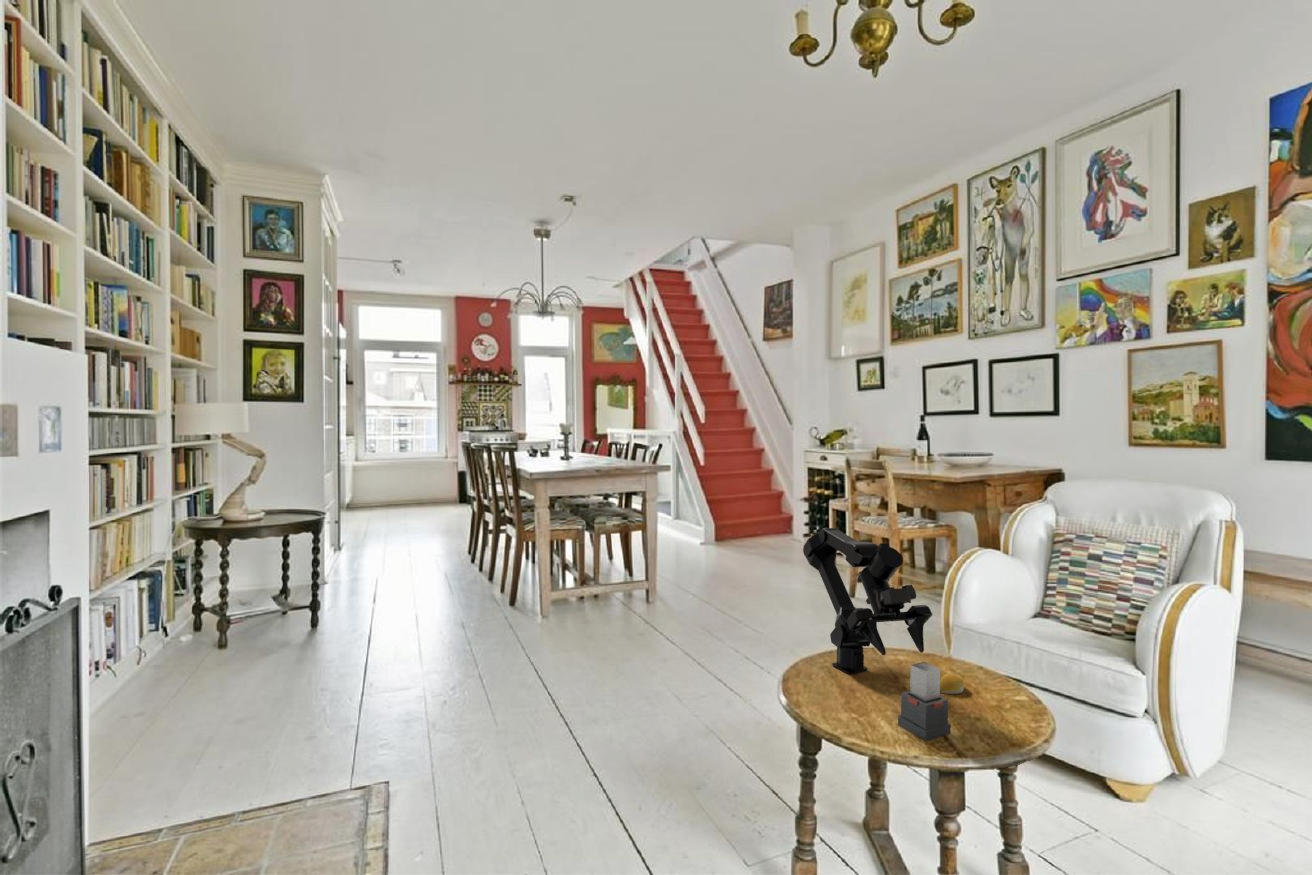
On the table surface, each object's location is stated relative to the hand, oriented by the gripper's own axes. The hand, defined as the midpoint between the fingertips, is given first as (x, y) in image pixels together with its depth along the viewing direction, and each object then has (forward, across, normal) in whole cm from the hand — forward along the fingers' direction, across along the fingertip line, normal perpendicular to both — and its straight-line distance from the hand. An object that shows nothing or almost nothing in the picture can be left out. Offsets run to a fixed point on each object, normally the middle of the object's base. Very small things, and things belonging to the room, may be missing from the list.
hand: (903, 653), depth 140 cm
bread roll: (+2, +17, +17) cm, 24 cm away
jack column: (+13, 0, +2) cm, 13 cm away
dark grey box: (+15, 0, +4) cm, 15 cm away
